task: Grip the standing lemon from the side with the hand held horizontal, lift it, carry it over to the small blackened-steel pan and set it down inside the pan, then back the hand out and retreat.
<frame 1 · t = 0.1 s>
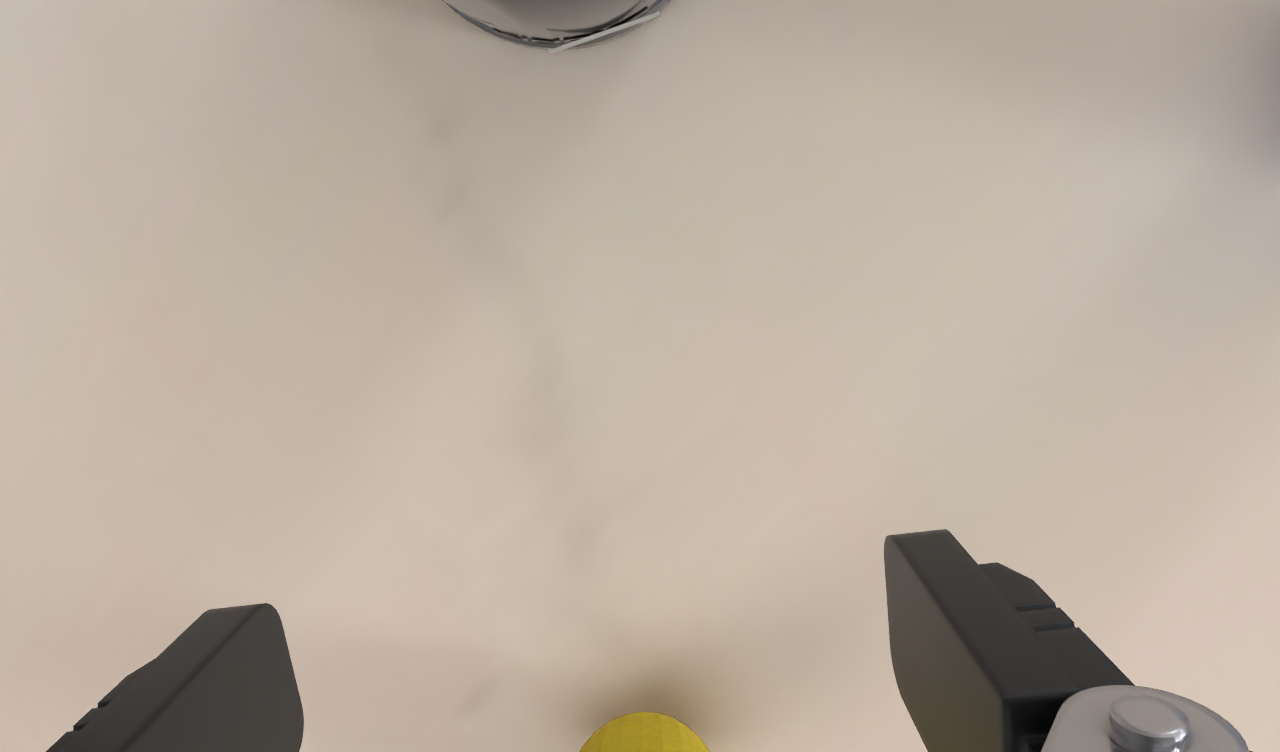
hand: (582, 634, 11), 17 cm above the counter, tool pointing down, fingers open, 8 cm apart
lemon: (645, 725, 32), on the counter
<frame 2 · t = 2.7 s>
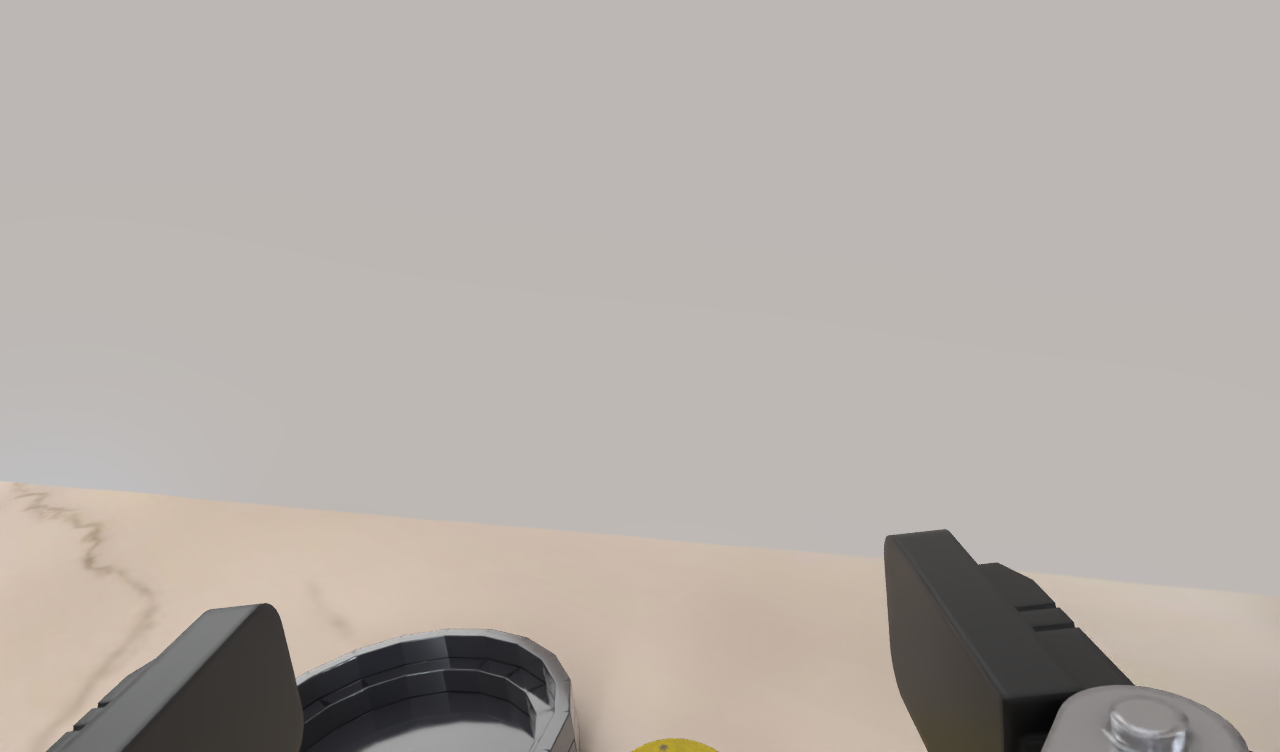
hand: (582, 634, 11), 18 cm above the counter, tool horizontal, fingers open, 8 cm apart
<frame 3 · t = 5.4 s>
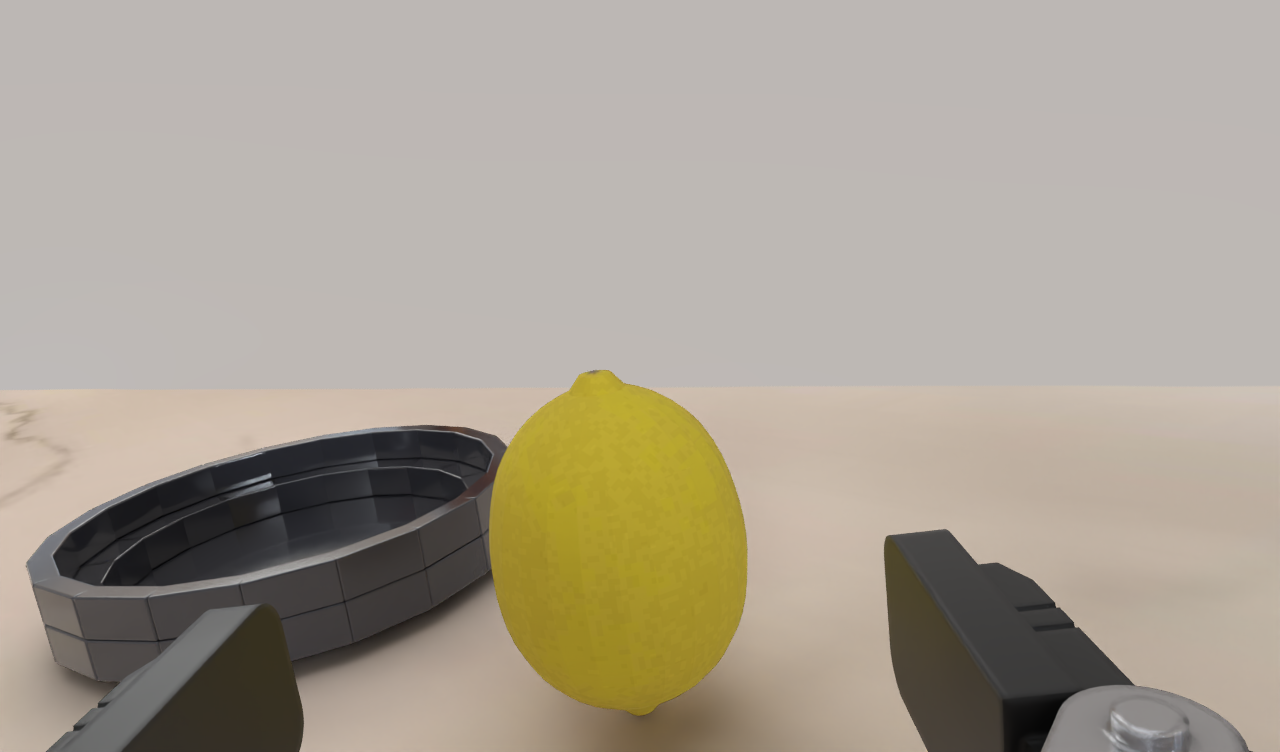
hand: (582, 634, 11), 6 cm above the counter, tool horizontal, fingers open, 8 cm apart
pan: (309, 571, 29), on the counter
lemon: (643, 718, 19), on the counter
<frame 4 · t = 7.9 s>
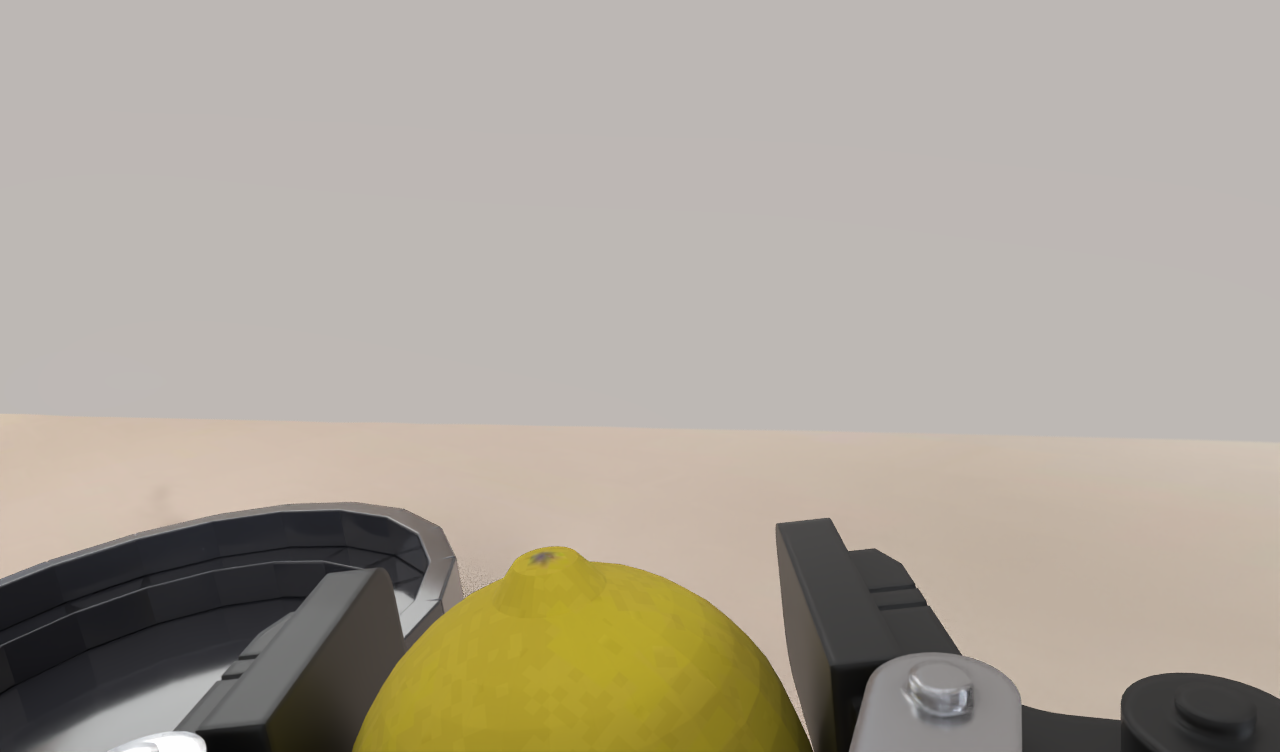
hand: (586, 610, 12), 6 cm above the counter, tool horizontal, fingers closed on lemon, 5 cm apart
pan: (166, 732, 21), on the counter
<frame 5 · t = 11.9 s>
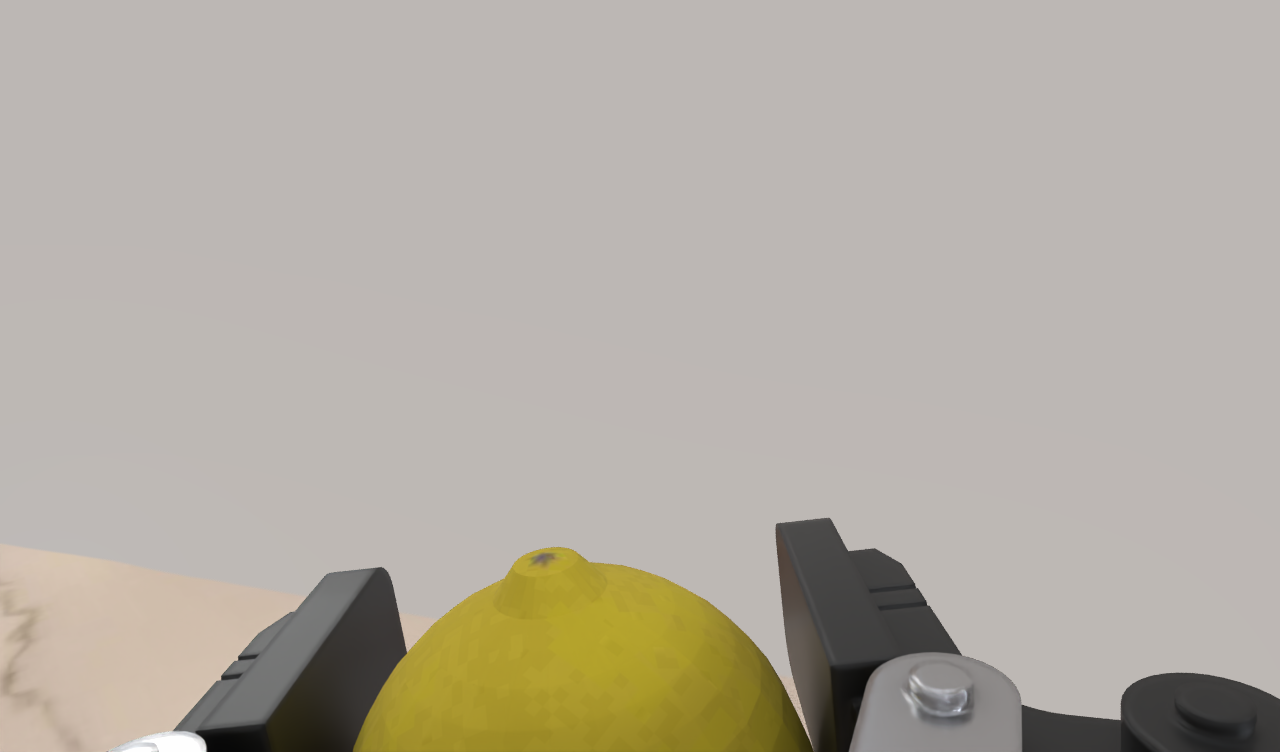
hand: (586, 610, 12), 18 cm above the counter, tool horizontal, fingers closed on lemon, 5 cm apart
when the fingers open (7 cm above the counter, at t = 16.2 s): lemon stays where it is, resting on pan.
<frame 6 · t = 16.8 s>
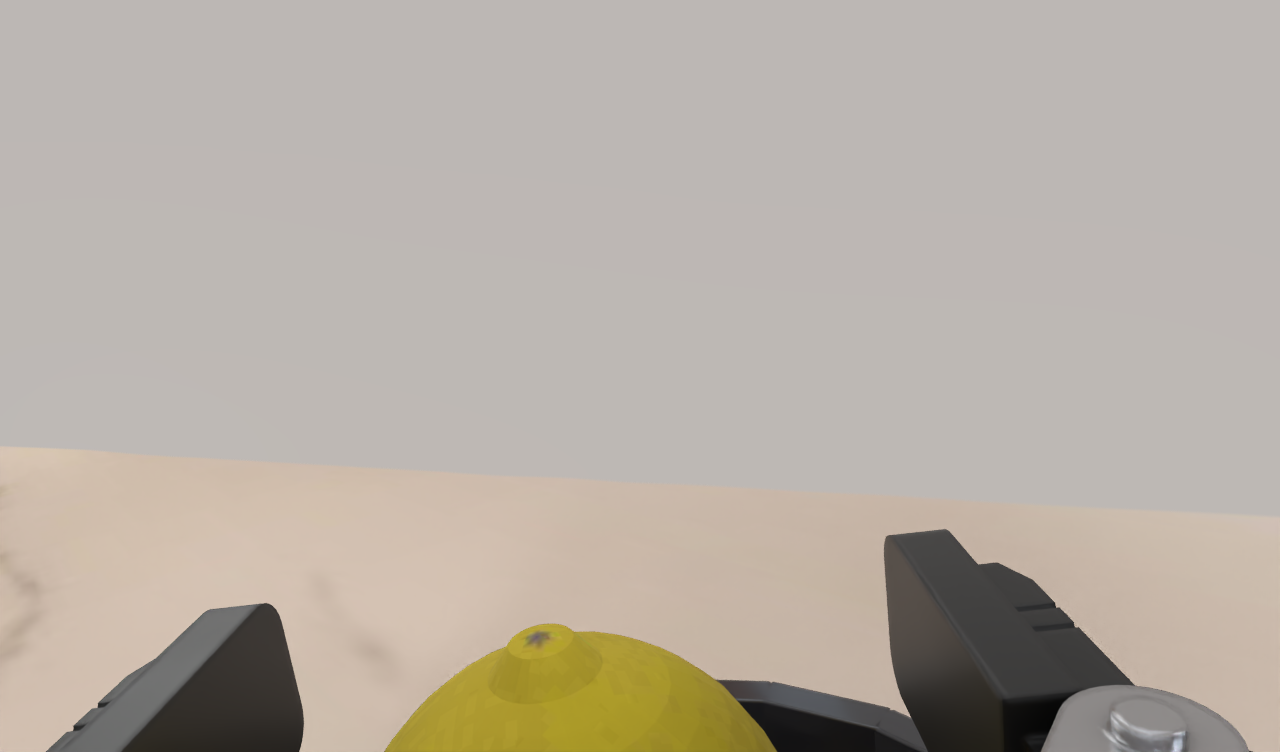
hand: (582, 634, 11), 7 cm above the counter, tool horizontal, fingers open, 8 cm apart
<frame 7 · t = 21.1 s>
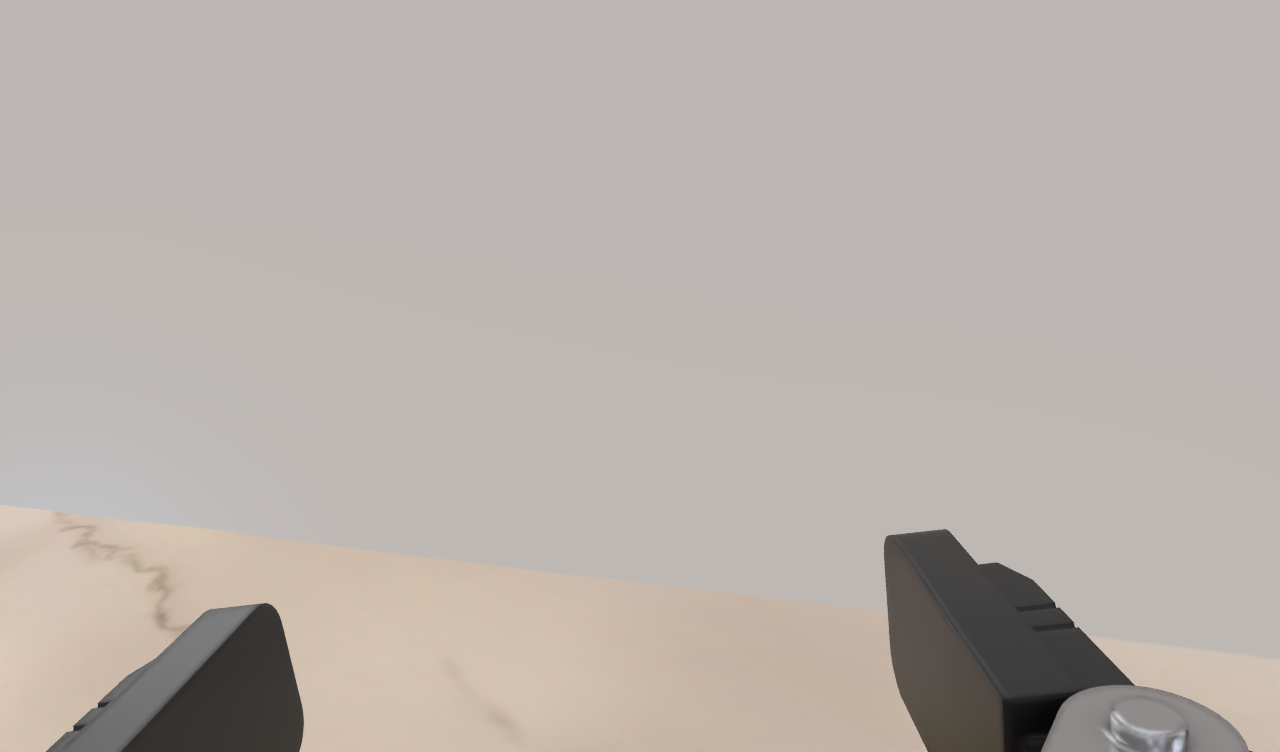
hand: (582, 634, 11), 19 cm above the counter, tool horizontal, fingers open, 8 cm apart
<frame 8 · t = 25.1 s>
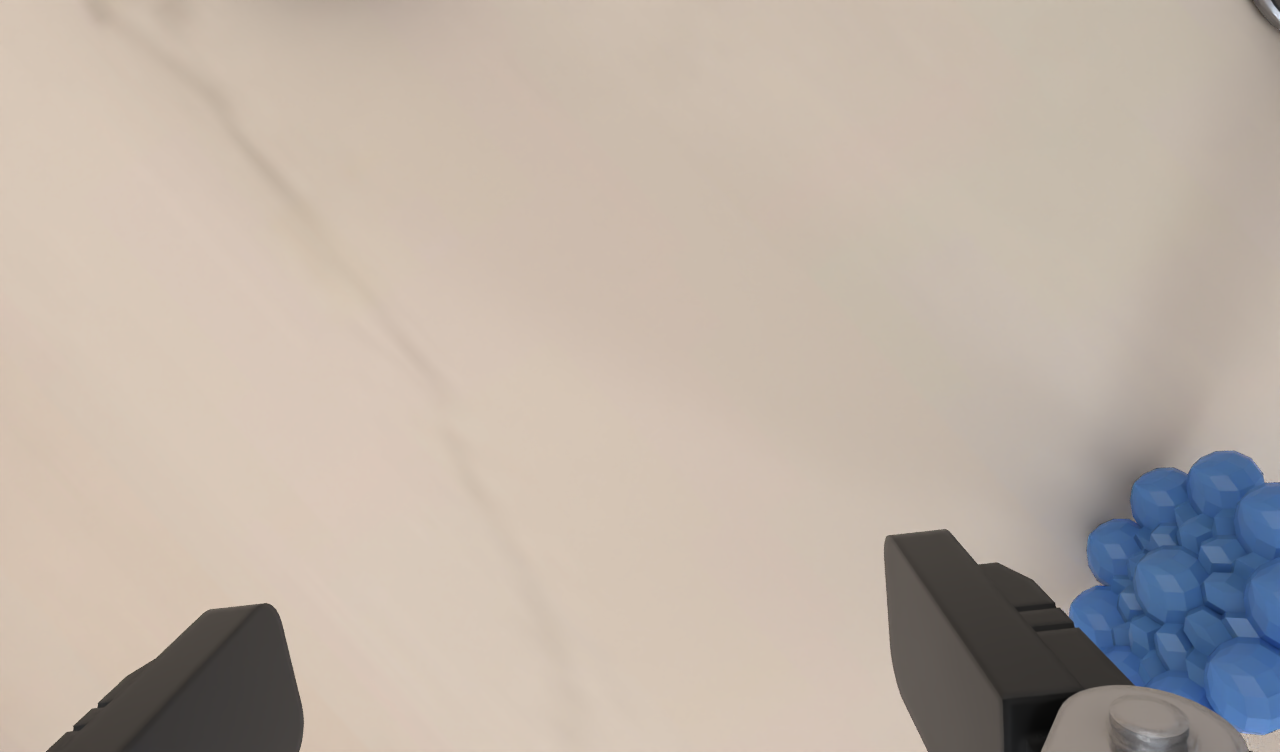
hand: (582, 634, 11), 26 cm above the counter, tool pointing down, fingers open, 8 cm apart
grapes: (1119, 541, 38), on the counter
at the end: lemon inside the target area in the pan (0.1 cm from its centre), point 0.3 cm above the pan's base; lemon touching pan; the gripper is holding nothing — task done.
